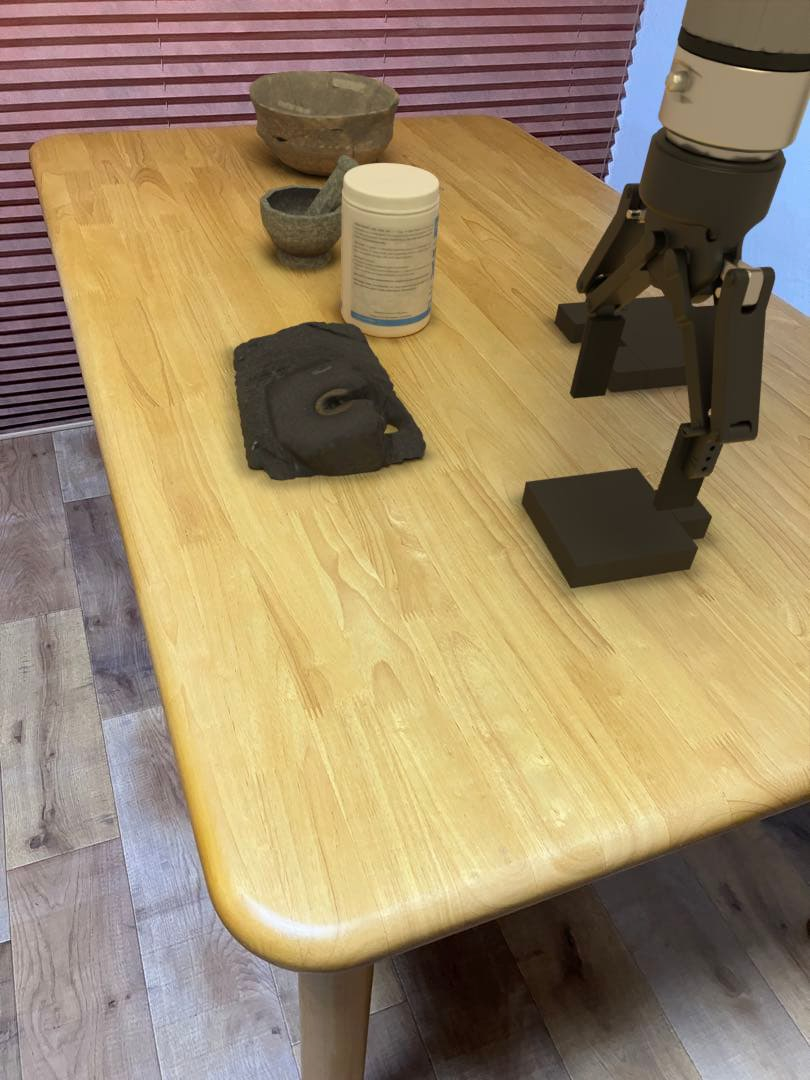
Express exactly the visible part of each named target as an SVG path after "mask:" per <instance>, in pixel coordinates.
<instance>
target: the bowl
mask: <svg viewBox="0 0 810 1080" xmlns="http://www.w3.org/2000/svg"><path fill="white" fill-rule="evenodd" d="M248 90H249V98H250V100H251V104H252V106H253V108H254V112H255V117H256V127H255V130H256V133H257V135H258V136H259V137H260V138H261V139H262V141H263V142H264V143H265V145H266V146H267V148H268V149H269V150H270V151H271V153H272V154H274V157H276V158H277V159H278V160H280V161H281V163H283V164H285V165H286V166H289V167H290V168H292V169H294V170H296V171H299V172H301V173H304V174H307V175H312V176H316V177H330V176H331V174H332V173H333V171H334V170H335V168H336V167H337V161H338V159H339V157H340V156H342V155H346V156H349V157H351V158H352V159H354V160H355V161H356V162H357V163H358V164H359V165H360V166H361V165H366V164H373V163H375V161H376V160H377V158H378V157H379V156H380V155H382V153H384V152H385V150H386V149H388V146H389V145H390V143H391V141H392V140H393V137H394V123H395V116H396V114H397V110H398V108H399V103H400V101H401V98H400V94H399V93H398V92H397V91H396V89H395V88H394V87H392V86H390V85H389V84H387V83H385V82H382V81H379V80H378V79H375V78H372V77H368V76H365V75H361V74H355V73H351V72H350V73H347V72H342V71H341V72H340V71H330V70H306V69H305V70H303V69H302V70H287V71H280V72H275V73H270V74H265V75H262V76H259V77H258V78H257V79H255V80H254V81H253V82H252V83H251V84H250V85H249V88H248Z"/></svg>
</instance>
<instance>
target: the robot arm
mask: <svg viewBox="0 0 810 1080" xmlns="http://www.w3.org/2000/svg"><path fill="white" fill-rule="evenodd" d="M671 61H672V62H671V65H670V69H669V72H668V74H667V75H666V77H665V81H664V86H665V87H664V91H663V95H662V99H661V102H660V106H659V111H658V114H657V118H658V121H659V123H660V124H661V126H662V127H661V128H659V129H658V130H657V131H655V132H654V133H653V134H652V136H651V137H650V142H649V146H648V150H647V153H646V158H645V162H644V164H643V165H644V166H643V170H642V172H641V173H642V174H641V177H640V180H639V182H630V183H626V184H625V185H624V187H623V189H622V193H621V196H620V199H619V202H618V206H617V208H616V209H617V210H616V211H615V214H614V216H613V217H612V219H611V221H610V223H609V225H608V226H607V228H606V230H605V231H604V233H603V235H602V236H601V238H600V239H599V241H598V243H597V245H596V247H595V248H594V250H593V252H592V254H591V255H590V257H589V258H588V260H587V262H586V263H585V266H584V267H583V269H582V270H581V272H580V274H579V276H578V277H577V280H576V283H575V288H576V291H577V293H578V294H584V295H585V300H584V302H585V310H586V312H587V313H588V316H587V320H586V324H585V328H584V329H585V330H584V332H583V337H582V341H581V343H580V344H581V345H580V349H579V353H578V356H577V361H576V366H575V369H574V373H573V378H572V382H571V385H570V391H569V395H570V396H571V397H572V399H584V398H595V397H605V396H606V394H607V390H608V388H607V387H608V383H609V379H610V376H611V372H612V369H613V365H614V361H615V358H616V354H617V350H618V347H619V343H620V339H621V336H622V332H623V328H624V325H625V321H626V319H625V318H624V317H623V316H622V315H614V312H617V311H628V310H629V309H626V308H625V307H628V304H629V303H630V302H631V301H632V300H633V299H635V298H638V297H639V296H640V295H641V294H643V292H645V291H646V290H647V289H648V288H649V287H651V286H652V287H653V288H655V289H658V290H660V291H661V293H662V295H663V296H665V298H666V299H667V300H668V301H669V302H670V303H671V304H672V312H673V318H674V321H675V322H676V323H678V324H679V325H680V326H681V329H682V339H683V349H684V359H685V370H686V380H687V385H686V390H687V398H688V399H687V400H688V409H689V421H690V422H681V423H680V424H679V427H678V429H677V433H676V435H675V438H674V441H673V443H672V447H671V450H670V452H669V456H668V459H667V461H666V463H665V467H664V470H663V473H662V476H661V478H660V481H659V484H658V487H657V489H656V490H657V492H656V495H655V498H654V501H653V506H654V507H655V508H656V510H657V511H663V510H671V509H678V508H686V507H693V506H694V504H695V501H696V498H698V495H699V493H700V491H701V488H702V485H703V483H704V482H705V478H708V477H709V476H710V475H711V474H712V473H713V471H714V469H715V467H716V464H717V462H718V459H719V457H720V455H721V452H722V449H723V447H724V445H726V444H736V443H742V442H743V443H744V442H745V443H746V442H752V441H754V440H756V439H757V437H758V434H759V424H760V409H761V407H760V406H761V395H762V394H761V391H762V377H763V376H762V375H763V364H764V363H763V362H764V360H763V359H764V347H765V332H766V331H765V330H766V317H767V316H766V315H767V314H766V313H767V309H768V305H769V302H770V298H771V295H772V292H773V288H774V286H775V281H776V272H775V269H774V268H773V267H772V266H757V267H756V266H752V265H750V264H749V263H746V262H745V261H743V245H744V240H745V237H746V236H747V234H748V233H749V232H750V231H751V230H752V229H753V228H754V227H756V226H757V225H758V224H760V223H761V222H763V220H765V218H766V217H767V215H768V214H769V212H770V208H771V206H772V203H773V201H774V197H775V194H776V192H777V189H778V186H779V183H780V181H781V178H782V175H783V172H784V170H785V167H786V164H787V159H786V157H785V154H784V151H783V150H784V149H787V148H788V147H790V146H791V145H793V144H794V142H795V141H796V140H797V137H798V134H799V131H800V128H801V126H802V122H803V119H804V117H805V114H806V110H807V107H808V105H809V101H810V0H686V2H685V7H684V11H683V14H682V18H681V26H680V28H679V32H678V35H677V43H676V47H675V51H674V54H673V58H672V60H671ZM711 297H712V299H713V305H699V306H695V304H696V305H697V304H702V303H704V302H706V301H707V300H708V299H710V298H711ZM709 412H710V414H709Z"/></svg>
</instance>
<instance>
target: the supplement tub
mask: <svg viewBox="0 0 810 1080" xmlns="http://www.w3.org/2000/svg"><path fill="white" fill-rule="evenodd" d="M440 199H441V197H440V180H439V178H437V177H436V175H434V174H433V173H431V172H430V171H428V170H426V169H424V168H420V167H416V166H414V165H409V164H405V163H404V164H403V163H392V162H377V163H376V162H373V163H371V164H366V165H361V166H357V167H355V168H352V169H351V170H349V171H348V172H347V173H346V174H345V175H344V180H343V189H342V215H341V237H340V239H341V241H340V243H341V245H340V250H341V251H340V313H341V316H342V319H343V321H344V323H349V324H353V325H355V326H357V327H358V328H360V329H361V332H362V333H363V334H364V335H368V336H372V337H378V338H385V339H386V338H390V339H391V338H402V337H406V336H410V335H413V334H416V333H417V332H419V331H421V330H422V329H423V328H424V327H426V326H427V324H428V323H429V321H430V318H431V311H432V302H433V301H432V300H433V288H434V276H435V266H436V253H437V242H438V241H437V240H438V231H439V217H440V204H441V203H440V201H441V200H440Z"/></svg>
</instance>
